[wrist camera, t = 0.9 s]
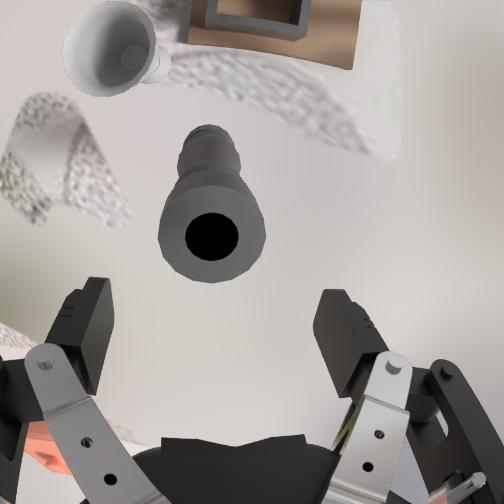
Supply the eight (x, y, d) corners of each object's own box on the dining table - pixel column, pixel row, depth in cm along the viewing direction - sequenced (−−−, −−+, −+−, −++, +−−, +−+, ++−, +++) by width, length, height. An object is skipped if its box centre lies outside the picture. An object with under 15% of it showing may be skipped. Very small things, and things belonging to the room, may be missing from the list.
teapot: (137, 438, 68) (134, 500, 52) (64, 436, 66) (54, 491, 51) (94, 378, 55) (78, 454, 40) (14, 378, 54) (-9, 440, 38)
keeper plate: (205, -51, 25) (205, -56, 24) (359, -20, 29) (364, -23, 28) (187, 44, 32) (187, 42, 31) (347, 69, 35) (352, 69, 34)
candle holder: (173, 149, 38) (129, 239, 16) (209, 114, 37) (212, 154, 15) (207, 182, 41) (212, 305, 19) (243, 149, 39) (294, 237, 18)
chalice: (186, 79, 34) (170, 71, 18) (134, 101, 34) (81, 114, 19) (167, 27, 30) (137, -16, 15) (115, 50, 31) (51, 30, 15)
